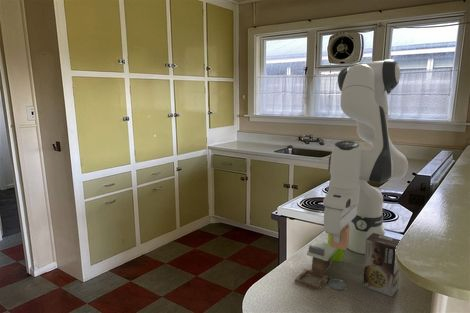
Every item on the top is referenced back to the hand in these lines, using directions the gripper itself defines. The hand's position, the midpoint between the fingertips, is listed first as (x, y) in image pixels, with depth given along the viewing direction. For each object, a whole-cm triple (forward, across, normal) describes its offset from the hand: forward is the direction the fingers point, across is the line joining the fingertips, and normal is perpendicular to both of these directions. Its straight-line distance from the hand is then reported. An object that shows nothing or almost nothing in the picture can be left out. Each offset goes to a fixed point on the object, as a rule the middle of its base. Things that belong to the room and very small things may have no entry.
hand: (340, 238), depth 103 cm
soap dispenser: (+16, -18, -7) cm, 25 cm away
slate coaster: (+16, 0, 0) cm, 16 cm away
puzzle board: (+16, -3, -8) cm, 18 cm away
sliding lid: (+10, -7, -8) cm, 14 cm away
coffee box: (+16, -7, +11) cm, 21 cm away
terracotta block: (+2, 0, 0) cm, 2 cm away
